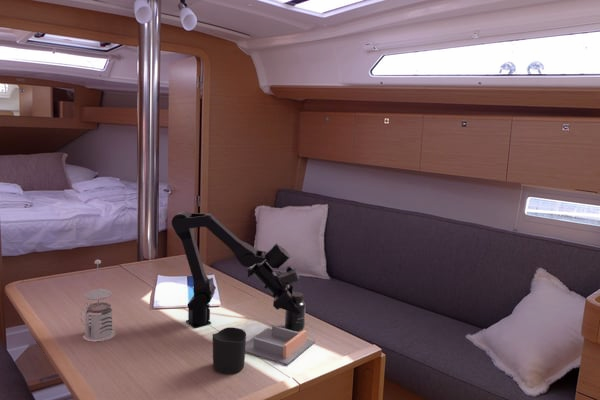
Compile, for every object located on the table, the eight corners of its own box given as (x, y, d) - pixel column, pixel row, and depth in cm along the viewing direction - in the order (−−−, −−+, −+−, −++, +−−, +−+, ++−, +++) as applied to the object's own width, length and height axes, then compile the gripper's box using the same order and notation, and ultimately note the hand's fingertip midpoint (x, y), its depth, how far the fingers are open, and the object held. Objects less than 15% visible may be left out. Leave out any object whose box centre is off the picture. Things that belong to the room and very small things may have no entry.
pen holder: (247, 373, 133) (248, 340, 132) (213, 377, 130) (214, 343, 129) (242, 358, 142) (243, 326, 141) (210, 361, 139) (210, 328, 138)
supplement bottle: (302, 332, 161) (303, 298, 159) (282, 330, 162) (284, 296, 161) (306, 324, 168) (307, 292, 166) (287, 322, 169) (288, 290, 167)
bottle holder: (236, 350, 147) (237, 335, 146) (267, 329, 163) (268, 316, 162) (287, 365, 138) (288, 350, 138) (315, 342, 154) (315, 329, 154)
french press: (122, 332, 156) (121, 257, 152) (96, 347, 145) (94, 267, 141) (97, 326, 159) (96, 253, 155) (70, 341, 148) (68, 263, 144)
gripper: (284, 269, 152) (317, 304, 154) (286, 254, 171) (316, 285, 173) (259, 292, 154) (292, 326, 155) (264, 274, 172) (293, 305, 174)
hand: (299, 309), depth 164 cm, fingers closed on supplement bottle, 7 cm apart
